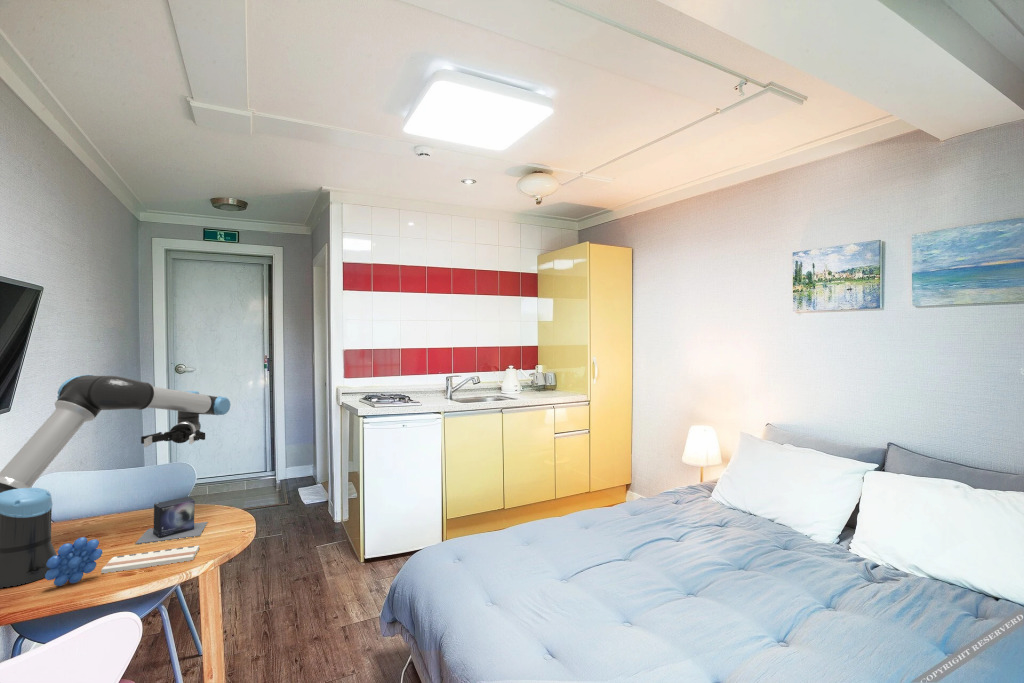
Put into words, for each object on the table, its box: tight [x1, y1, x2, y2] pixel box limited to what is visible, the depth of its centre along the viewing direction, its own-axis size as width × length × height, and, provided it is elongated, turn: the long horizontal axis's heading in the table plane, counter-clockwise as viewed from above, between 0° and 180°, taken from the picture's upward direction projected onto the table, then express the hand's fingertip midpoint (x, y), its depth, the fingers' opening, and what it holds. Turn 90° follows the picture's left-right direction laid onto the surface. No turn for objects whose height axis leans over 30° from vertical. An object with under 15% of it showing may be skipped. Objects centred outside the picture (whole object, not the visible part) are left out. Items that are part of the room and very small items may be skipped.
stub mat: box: [134, 521, 209, 545], centre depth 167 cm, size 18×14×1 cm
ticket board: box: [100, 545, 200, 574], centre depth 145 cm, size 22×9×1 cm, turn 113°
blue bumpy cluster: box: [44, 536, 104, 587], centre depth 132 cm, size 12×7×12 cm, turn 137°
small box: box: [153, 496, 196, 538], centre depth 167 cm, size 11×6×10 cm, turn 143°
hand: (168, 441), depth 175 cm, fingers open, 13 cm apart
